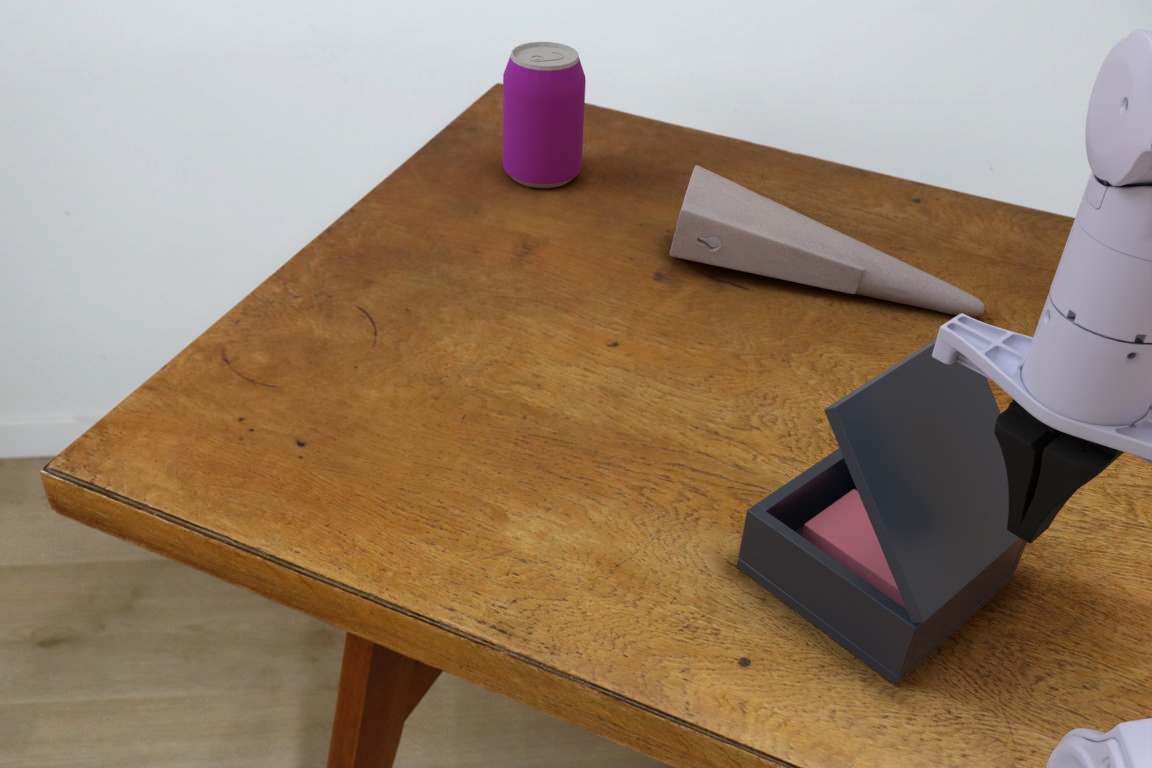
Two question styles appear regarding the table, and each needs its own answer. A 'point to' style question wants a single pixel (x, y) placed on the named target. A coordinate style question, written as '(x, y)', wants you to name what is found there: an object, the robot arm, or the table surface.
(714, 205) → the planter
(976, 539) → the lid
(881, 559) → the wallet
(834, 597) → the box
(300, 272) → the table surface
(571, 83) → the beverage can
